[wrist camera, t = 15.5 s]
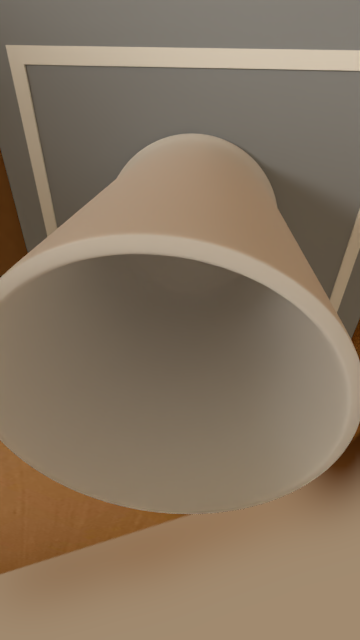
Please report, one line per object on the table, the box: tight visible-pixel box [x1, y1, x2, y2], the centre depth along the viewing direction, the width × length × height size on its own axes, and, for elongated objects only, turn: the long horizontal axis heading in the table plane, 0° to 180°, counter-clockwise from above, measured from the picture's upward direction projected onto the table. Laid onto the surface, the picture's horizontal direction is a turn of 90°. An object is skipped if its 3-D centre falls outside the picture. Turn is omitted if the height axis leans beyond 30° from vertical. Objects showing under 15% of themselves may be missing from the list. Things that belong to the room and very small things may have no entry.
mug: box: [0, 133, 360, 514], centre depth 12 cm, size 12×8×12 cm
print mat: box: [0, 0, 360, 338], centre depth 17 cm, size 19×19×1 cm
